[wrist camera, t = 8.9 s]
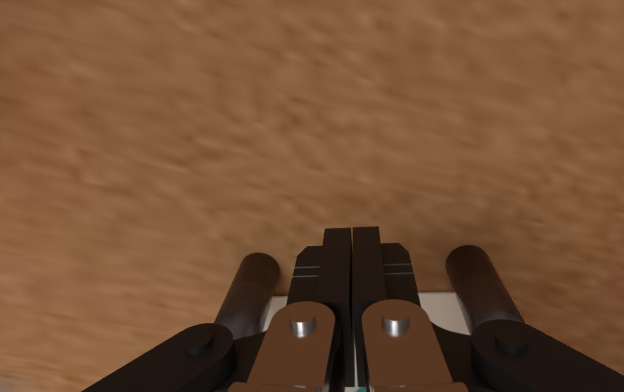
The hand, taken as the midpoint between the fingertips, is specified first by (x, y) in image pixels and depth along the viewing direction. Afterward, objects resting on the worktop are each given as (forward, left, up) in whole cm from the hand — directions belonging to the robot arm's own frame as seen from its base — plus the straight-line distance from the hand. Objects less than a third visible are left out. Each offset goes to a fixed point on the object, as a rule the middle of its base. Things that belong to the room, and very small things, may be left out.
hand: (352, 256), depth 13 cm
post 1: (+7, +9, -14) cm, 17 cm away
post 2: (-6, +9, -14) cm, 17 cm away
